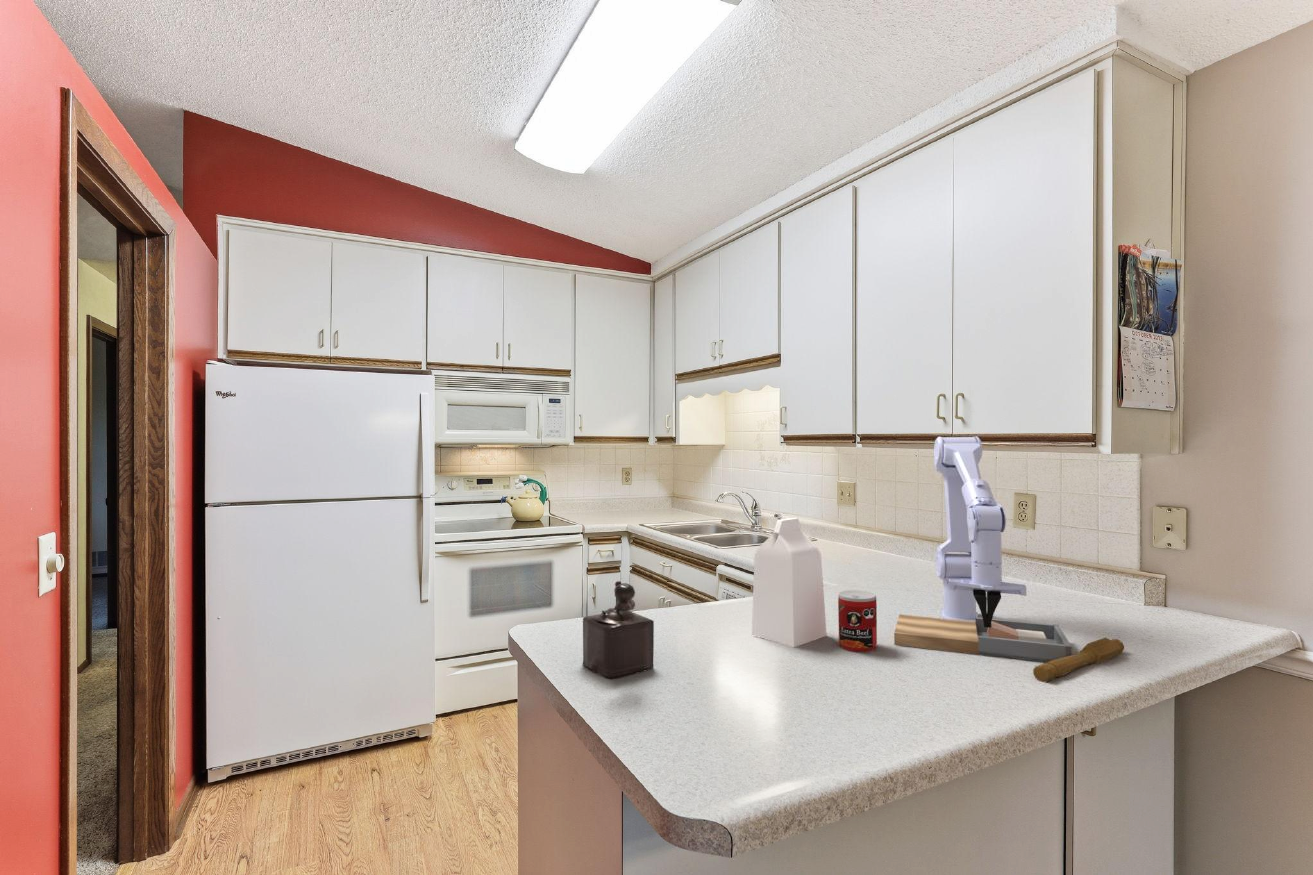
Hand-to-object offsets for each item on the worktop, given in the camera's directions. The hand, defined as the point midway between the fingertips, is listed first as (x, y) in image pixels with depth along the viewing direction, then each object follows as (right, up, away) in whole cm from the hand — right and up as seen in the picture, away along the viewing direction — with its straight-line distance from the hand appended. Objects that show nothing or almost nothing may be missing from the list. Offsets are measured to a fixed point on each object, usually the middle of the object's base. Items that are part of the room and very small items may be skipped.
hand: (987, 626), depth 136 cm
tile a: (+2, -3, -1) cm, 4 cm away
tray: (+5, -4, -2) cm, 7 cm away
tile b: (+7, -3, -3) cm, 9 cm away
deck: (-9, -4, +4) cm, 11 cm away
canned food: (-28, -4, -1) cm, 28 cm away
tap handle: (+11, -4, -12) cm, 17 cm away
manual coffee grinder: (-76, -5, -14) cm, 78 cm away
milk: (-41, -5, +7) cm, 41 cm away
